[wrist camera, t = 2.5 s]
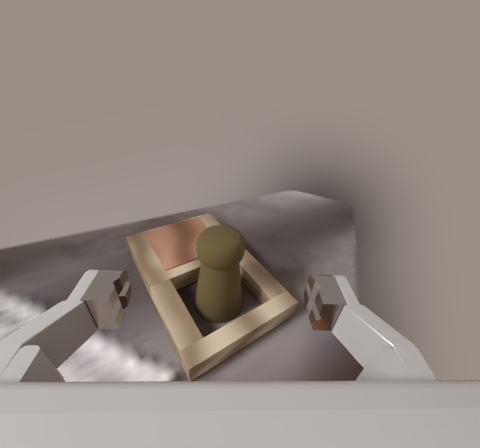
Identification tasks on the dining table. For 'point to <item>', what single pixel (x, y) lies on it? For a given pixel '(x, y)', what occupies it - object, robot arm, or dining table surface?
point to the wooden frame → (187, 271)
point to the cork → (219, 273)
